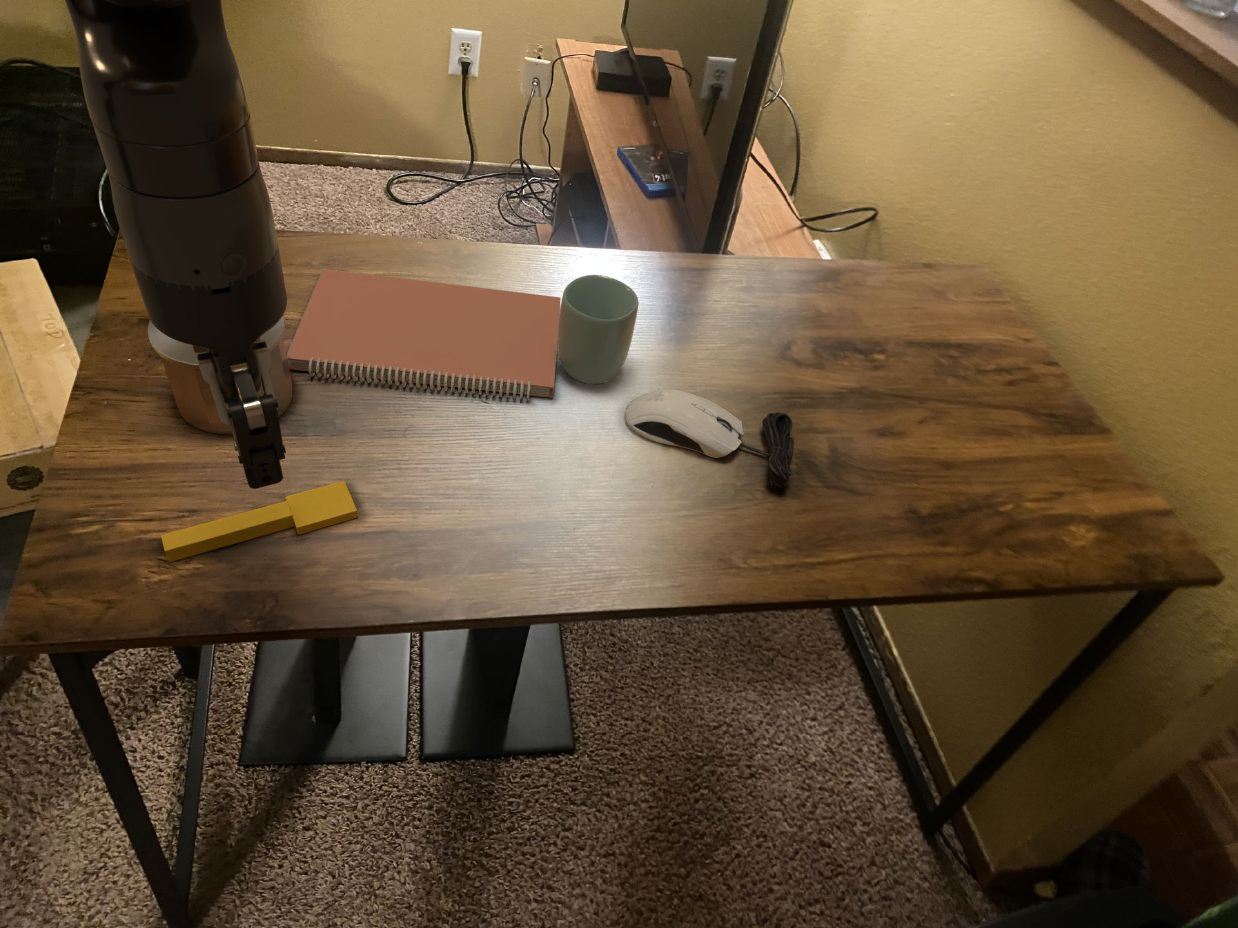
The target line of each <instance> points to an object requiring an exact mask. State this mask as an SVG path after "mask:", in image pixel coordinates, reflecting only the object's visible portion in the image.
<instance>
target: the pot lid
mask: <svg viewBox="0 0 1238 928" xmlns="http://www.w3.org/2000/svg"><path fill="white" fill-rule="evenodd" d="M286 326H287V324H286V317H285V313H284V314H283V316H282V318H281V319H280V320H279V322H278V323H277V324H276V325H275V326H274V327H273V328H271V329H270V330H269V331H267V332H266V333H264V334H263V335H262V336H261V337H260V338H261V339H260V340H265V341H266V344H267V347H268V351H269V352H270V351H271V350H272V349H273V348H274V347H276V346H277V344H278V343H279V342H280V340H281V339H282V337H284V335H285V332H286ZM147 338H148V339H149V343H150V345H151V347H152V349H153V350H154V351H155V352H156V353H157V354H158V355H159V356H160V357H161V356H162V357H163V358H165V359H166V360H168V361H170V362H172V363H175V364H177V365H180V366H184V367H188V368H194V369H200V367H199V364H198V361H197V357H196V353H195V352H194V349H193V346H192V345H190V344H186V343H182V342H179V341H177V340H174V339H172V338H170V337H168V336H166V335H165V334H163V333H162V332H160V331H159V330H158V329H157V328H156V327H155V326H154V325H153V323H152V322H151V320H150V319H149V322H148V326H147Z"/></svg>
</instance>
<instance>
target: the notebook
mask: <svg viewBox="0 0 1238 928" xmlns="http://www.w3.org/2000/svg"><path fill="white" fill-rule="evenodd" d="M561 301H562V297H560V296H552V295H544V294H535V293H528V292H521V291H512V290H502V289H496V288H495V289H494V288H488V287H478V286H470V285H460V284H452V283H446V282H439V281H438V282H437V281H430V280H429V281H428V280H422V279H421V280H420V279H414V278H413V279H412V278H404V277H396V276H388V275H381V274H380V275H379V274H370V273H364V272H357V271H356V272H355V271H346V270H339V269H332V268H331V269H330V268H322V270H321V272H320V274H319V277H318V279H317V281H316V283H315V286H314V289H313V290H312V293H311V295H310V298H309V301H308V303H307V305H306V308H305V310H304V313H303V315H302V317H301V319H300V322H299V325H298V327H297V329H296V332H295V334H294V336H293V338H292V341H291V344H290V345H289V348H288V350H287V352H286V354H287V359H288V365H289V370H292V371H302V372H308V374H309V377H314V376H315V375H316V377H317V378H321V377H322V376H323V377H324V378H325V379H329V377H330V378H331V379H332V380H335V379H336V378H338V380H341V381H342V380H343V379H345V381H350V380H351V377H352V381H353V382H357V381H358V379H359V382H361V383H364V382H365V380H366V382H367V384H368V383H372V380H373V383H374V384H378V383H379V381H380V383H381V385H385V384H386V381H387V384H388V385H389V386H392V385H393V382H394V385H395V386H396V387H399V386H400V382H401V385H402V387H406V386H407V383H408V387H409V388H413V387H414V384H415V388H416V389H420V388H421V384H422V387H423V389H424V390H427V389H428V385H429V389H430V390H434V389H435V386H436V390H437V391H440V390H442V387H443V390H444V392H447V391H448V389H449V388H450V391H451V393H454V392H455V389H456V388H457V392H458V393H462V389H464V393H465V394H468V393H469V390H471V394H472V395H475V394H476V390H478V395H481V396H482V394H483V391H485V396H489V393H490V392H492V393H491V394H492V396H493V397H496V393H498V396H499V398H502V397H503V394H504V393H505V397H506V398H509V397H510V394H512V398H513V399H516V397H517V395H519V399H520V400H522V399H523V396H524V395H525V396H526V400H527V401H529V400H530V396H533V397H534V396H535V397H543V398H552V399H553V398H554V389H555V380H556V379H555V377H556V368H557V367H556V363H557V353H558V327H559V317H560V309H561ZM344 377H345V378H344Z"/></svg>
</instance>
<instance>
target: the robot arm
mask: <svg viewBox="0 0 1238 928" xmlns="http://www.w3.org/2000/svg"><path fill="white" fill-rule="evenodd" d="M64 1H65V4H66V7H67V10H68V13H69V16H70V19H71V23H72V26H73V29H74V34H75V38H76V43H77V52H78V53H77V54H78V64H79V72H80V73H79V74H80V79H81V86H82V89H83V90H82V91H83V95H84V100H85V103H86V107H87V111H88V115H89V118H90V120H91V123H92V127H93V130H94V132H95V136H96V139H97V141H98V145H99V149H100V152H101V155H102V157H103V161H104V165H105V166H106V171H107V175H108V179H109V183H110V189H111V197H112V204H113V209H114V214H115V216H116V220H117V225H118V227H119V231H120V234H121V236H122V239H123V242H124V245H125V249H126V252H127V255H128V258H129V261H130V264H131V266H132V271H133V273H134V277H135V279H136V283H137V286H138V288H139V292H140V295H141V298H142V301H143V304H144V308H145V310H146V314H147V316H148V318H149V321H150V320H151V322H152V323H153V325H154V326H155V327H156V328H157V329H158V330H159V331H160V332H162V333H163V334H165V335H166V336H168V337H170V338H172V339H174V340H177V341H179V342H182V343H186V344H190V345H192V346H193V349H194V352H195V353H196V357H197V361H198V364H199V367H200V371H201V374H202V376H203V379H204V380H205V381H206V382H207V383H209V385H210V389H211V392H212V396H213V399H214V402H215V406H216V409H217V413H218V415H219V418H220V421H221V422H222V423H223V424H226V425H229V426H230V427H231V430H232V433H233V434H232V436H233V441H234V442H233V443H232V445H233V448H234V451H235V452H237V453H238V456H237V458H238V462H239V465H242V468H243V471H244V475H245V479H246V482H247V485H248V487H249V488H250V489H252V490H256V489H262V488H265V487H268V486H273V485H276V484H279V483H281V482H282V481H283V479H284V474H283V469H282V465H281V461H282V460H286V454H287V450H286V447H285V444H284V443H283V436H282V430H281V425H280V424H281V423H280V419H279V418H280V417H279V418H278V412H277V411H278V407H279V406H278V402H277V400H276V396H275V392H274V388H273V384H272V380H271V376H270V369H271V367H272V362H271V358H270V354H269V351H268V347H267V344H266V341H265V340H260V339H261V338H260V337H261V336H262V335H263V334H264V333H266V332H267V331H269V330H270V329H271V328H273V327H274V326H275V325H276V324H277V323H278V322H279V320H280V319H281V318H282V316H283V314H284V315H285V312H286V309H287V306H288V295H287V289H286V282H285V278H284V272H283V266H282V265H283V264H282V259H281V254H280V247H279V241H278V235H277V231H276V225H275V217H274V212H273V207H272V202H271V198H270V193H269V190H268V187H267V185H266V182H265V178H264V175H263V171H262V170H261V169H262V168H261V165H260V161H259V155H258V149H257V143H256V138H255V134H254V133H255V132H254V127H253V121H252V114H251V109H250V105H249V101H248V100H249V99H248V94H247V91H246V87H245V83H244V80H243V77H242V74H241V70H240V67H239V63H238V62H237V59H236V56H235V53H234V51H233V48H232V44H231V42H230V38H229V34H228V30H227V26H226V19H225V14H224V6H223V0H64ZM261 382H262V386H263V390H264V394H263V396H259V397H258V395H257V392H258V391H259V389H260V387H261Z"/></svg>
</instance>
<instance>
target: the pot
mask: <svg viewBox="0 0 1238 928" xmlns="http://www.w3.org/2000/svg"><path fill="white" fill-rule="evenodd" d="M286 349H287V348H286V344H285V338H284V336H283V337H282V339H281V340H280V342H279V343H278V344H277V346H276V347H274V348H273V349H272V350H271V351H270V352H269V354H270V358H271V362H272V367H271V369H270V376H271V380H272V384H273V388H274V392H275V396H276V400H277V402H278V406H279V407H278V411H277V412H278V418H280V417H281V416H282V415H283V414H284V413H285V412H286V411H287V409H288V408H289V406H290V405H291V403H292V399H293V381H292V376H291V371H290V370H291V369H289V365H288V364H289V360H288V359H287V350H286ZM160 358H161V360H162V364H163V367H164V370H165V373H166V376H167V379H168V381H169V386H170V388H171V392H172V394H173V397H174V400H175V404H176V406H177V410H178V412H179V414H180V415H181V417H182V419H184V421H186V422H187V423H188V424H189V425H190V426H193V427H194V428H196V429H199V430H201V431H203V432H208V433H211V434H218V435H233V433H232V430H231V427H230V426H229V425H226V424H223V423H222V422H221V421H220V418H219V415H218V413H217V409H216V406H215V402H214V399H213V396H212V392H211V389H210V385H209V383H207V382H206V381H205V380H204V379H203V376H202V374H201V371H200V369H194V368H188V367H184V366H180V365H177V364H175V363H172V362H170V361H168V360H166V359H165V358H163V357H162V356H160ZM263 394H264V390H263V386H262V382H261V387H260V389H259V391H258V392H257V395H258V397H259V396H263Z"/></svg>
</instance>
